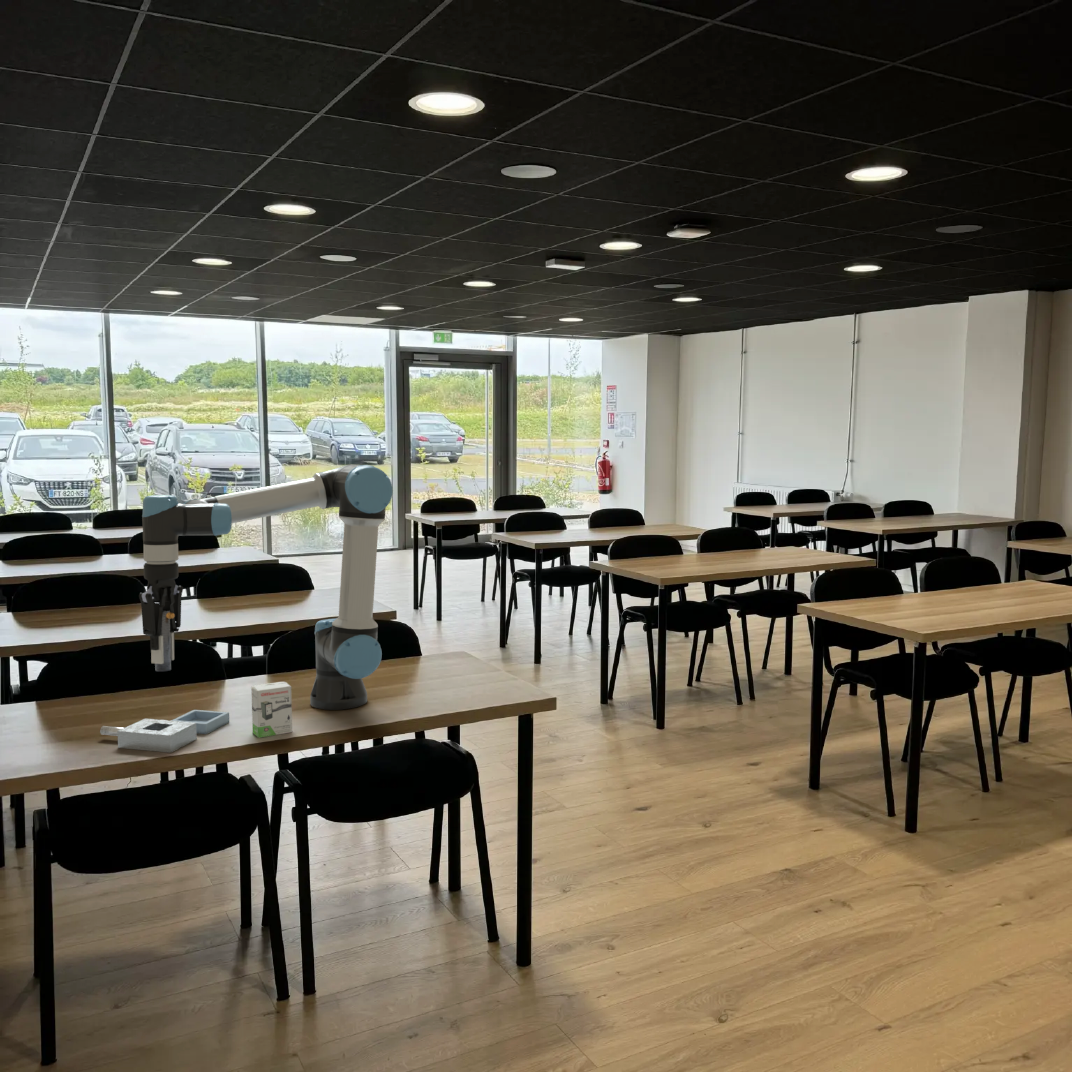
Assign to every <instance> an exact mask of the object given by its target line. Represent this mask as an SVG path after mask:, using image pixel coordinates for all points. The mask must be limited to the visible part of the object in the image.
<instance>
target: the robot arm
mask: <svg viewBox="0 0 1072 1072" xmlns="http://www.w3.org/2000/svg"><path fill="white" fill-rule="evenodd" d="M393 491H394V490H393V484H392V482H391V479H390V477H389V476H388V475H387V473H385V471H383V470H382V469H381V468H378V467H376V466H374V465H370V464H358V463H357V464H356V463H352V464H351V463H349V464H346V465H345V464H344V465H342V466H339V467H336V468H333V469H329V470H325V471H320V472H316V473H314V474H313V476H312V477H309V478H305V479H299V480H293V481H289V482H285V483H284V482H283V483H278V484H274V485H269V486H263V487H258V488H253V489H246V490H242V491H236V492H231V493H225V494H221V495H215V496H212V497H206V498H200V499H197V498H192V499H190V500H187V501H185V502H184V503H179V502H178V498H177V496H176V495H172V494H171V495H170V494H168V495H167V494H165V495H163V494H159V495H157V494H153V495H152V494H151V495H147V496H145V497H143V501H142V515H141V517H142V518H141V519H142V520H141V521H142V541H143V542H142V543H143V562H145V563H144V564H143V578H144V580H147V586H146V591H144V592H139V594H138V599H139V602H140V605H141V607H140V608H141V619H142V620H141V622H142V633H143V635H145V636H147V637H149V638H150V639H149V640H150V641H149V642H150V644H149V648H150V653H151V656H150V657H151V659H150V662H151V664H155V663H156V664H163V663H164V659H163V636H160V634H161V623H162V611H163V610H170V613H174V614H175V617H174V618H172V619H170V645H171V661H174V660H175V633H178V632H179V631H180V628H181V625H182V624H181V623H182V594H183V591H184V586H182V585H177V584H176V581H175V580H176V579H178V577H179V574H180V573H179V563H178V562H177V561H178V560H179V540H178V539H179V536H182V537H185V536H215V537H217V536H220V535H221V536H222V535H228V534H229V533H230V532H231V530H232V524H236V523H241V522H246V521H252V520H255V519H256V520H257V519H261V518H266V517H267V518H268V517H270V516H271V517H272V516H276V515H277V516H278V515H281V514H286V513H292V512H295V511H296V512H297V511H301V510H307V509H311V508H315V507H316V508H317V507H319V508H320V509H322V510H325V509H330V508H338V518H339V519H340V520H341V521H342V523H343V524H344V525H343V539H342V555H341V558H342V559H341V570H340V571H341V573H340V589H339V601H338V603H339V606H338V616H337V617H336V618H328V619H321V620H319V621H317V622H316V624H315V627H314V637H315V639H314V641H315V642H314V644H315V670H316V672H315V674H316V675H315V678H314V682H313V685H312V689H311V693H310V697H309V698H310V701H309V703H310V706H311V707H313V708H315V709H318V710H319V709H320V710H325V711H326V710H327V711H328V710H329V711H339V710H350V709H354V708H358V707H361V706H364V705H365V704H367V702H368V692H367V689H366V686H365V683H364V680H363V679H364V678H367V677H369V676H371V675H372V674H373V673H374V672H375V671H376V670H377V669H378V668H379V666H380V664H381V662H382V655H383V653H382V648H381V644H380V643H379V641H378V631H379V630H378V628H379V625H378V623H377V622H376V621H375V619H374V617H373V613H374V599H375V598H374V597H375V587H376V586H375V583H376V582H375V581H376V567H377V552H378V538H379V526H380V525H381V524H382V523H383V522H384V521H385V519H386V509H387V506H388V505H389V504H390V502H391V501H392V498H393V494H394V493H393Z"/></svg>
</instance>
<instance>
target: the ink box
mask: <svg viewBox="0 0 1072 1072" xmlns="http://www.w3.org/2000/svg"><path fill="white" fill-rule="evenodd" d="M250 689H251V717H252V718H251V722H252V734H254V735H255V736H256V737H257V738H260V739H261V738H264V737H265V738H266V737H271V736H278V735H282V734H289V733H292V732H293V712H292V711H293V710H292V709H293V707H292V706H293V705H292V686H291V685H290V684H289V683H288V682H286V681H277V682H271V683H270V682H269V683H263V684H255V685H253V686H251V687H250Z"/></svg>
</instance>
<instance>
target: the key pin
mask: <svg viewBox="0 0 1072 1072" xmlns="http://www.w3.org/2000/svg"><path fill="white" fill-rule="evenodd" d="M174 617H175V614H174V613H170V610H163V611H162V623H161V634H160V636H163V659H164V663H163V664H156V663H154V666H155V667H154V668H155V672H168V671H171V670H172V660H171V645H170V619H172V618H174Z"/></svg>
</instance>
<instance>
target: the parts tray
mask: <svg viewBox="0 0 1072 1072" xmlns="http://www.w3.org/2000/svg"><path fill="white" fill-rule="evenodd" d="M170 721H180V722H192V723H196V733H197V734H203V735H208V734H210V733H211V732H213V731H215V730H217V729H219V728H221V727H223V726H224V725H227V724H228V723H230V712H229V711H228V712H227V711H215V710H202V709H201V710H200V709H193V710H190V711H188V712H186V713H184V714H182V715H180V716H178V717H176V718H173V719H171V720H170Z"/></svg>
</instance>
